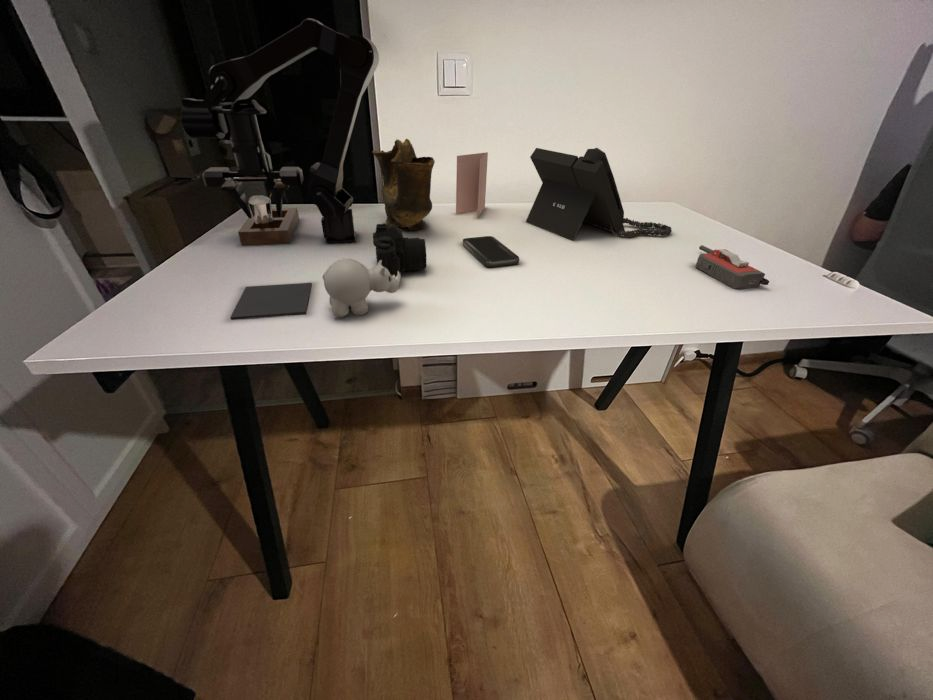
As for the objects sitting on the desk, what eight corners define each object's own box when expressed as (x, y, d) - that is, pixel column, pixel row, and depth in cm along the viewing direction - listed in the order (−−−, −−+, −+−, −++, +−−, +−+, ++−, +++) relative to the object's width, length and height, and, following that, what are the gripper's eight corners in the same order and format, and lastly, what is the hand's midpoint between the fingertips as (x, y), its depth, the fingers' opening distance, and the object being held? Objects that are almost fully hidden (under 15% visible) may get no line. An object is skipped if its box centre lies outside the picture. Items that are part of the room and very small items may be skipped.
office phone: (676, 234, 105) (705, 148, 93) (605, 254, 91) (628, 156, 79) (590, 207, 124) (605, 133, 113) (520, 219, 110) (529, 137, 99)
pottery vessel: (444, 238, 96) (444, 146, 85) (400, 243, 92) (394, 147, 81) (412, 210, 114) (408, 132, 103) (374, 214, 110) (366, 132, 99)
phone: (487, 262, 81) (461, 238, 92) (486, 268, 82) (461, 243, 93) (521, 258, 83) (492, 235, 95) (521, 263, 84) (492, 240, 96)
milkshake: (277, 240, 91) (266, 194, 85) (254, 239, 91) (241, 193, 85) (285, 234, 95) (275, 189, 89) (262, 233, 95) (251, 188, 89)
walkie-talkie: (775, 289, 78) (702, 252, 94) (786, 267, 76) (709, 233, 92) (738, 292, 76) (670, 254, 92) (748, 270, 74) (676, 235, 90)
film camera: (429, 287, 74) (428, 239, 69) (375, 289, 72) (370, 240, 67) (423, 256, 86) (421, 213, 81) (377, 257, 84) (372, 214, 79)
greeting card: (482, 207, 120) (485, 151, 112) (500, 212, 116) (505, 155, 107) (453, 213, 113) (454, 155, 105) (471, 219, 109) (474, 159, 101)
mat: (311, 284, 73) (311, 282, 73) (305, 313, 64) (305, 311, 64) (246, 288, 71) (245, 286, 71) (230, 319, 62) (230, 317, 62)
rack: (299, 219, 104) (296, 207, 102) (290, 243, 90) (287, 230, 88) (257, 221, 102) (254, 209, 100) (241, 245, 88) (237, 232, 86)
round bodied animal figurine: (406, 313, 65) (404, 264, 61) (330, 323, 62) (320, 272, 57) (398, 294, 71) (395, 247, 66) (327, 302, 68) (318, 254, 63)
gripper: (299, 135, 90) (312, 206, 98) (207, 134, 86) (229, 208, 95) (292, 142, 81) (307, 220, 90) (189, 141, 77) (215, 223, 86)
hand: (265, 217), depth 90 cm, fingers open, 6 cm apart
